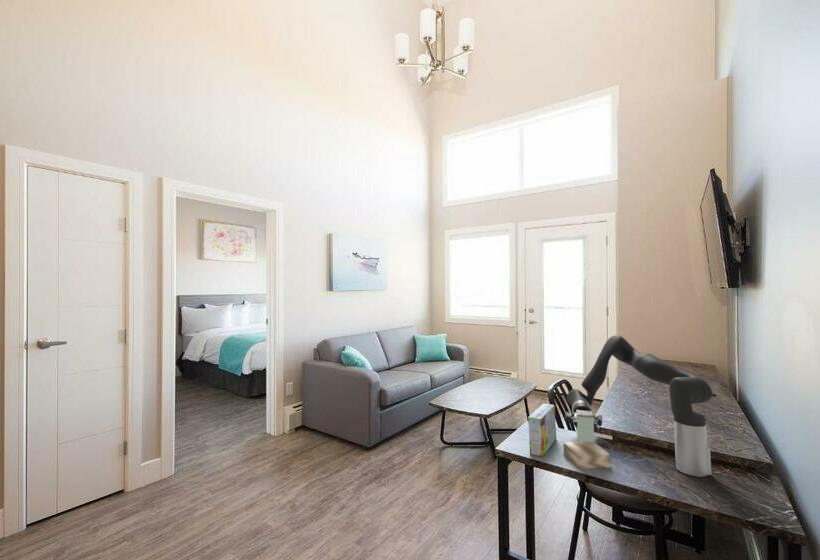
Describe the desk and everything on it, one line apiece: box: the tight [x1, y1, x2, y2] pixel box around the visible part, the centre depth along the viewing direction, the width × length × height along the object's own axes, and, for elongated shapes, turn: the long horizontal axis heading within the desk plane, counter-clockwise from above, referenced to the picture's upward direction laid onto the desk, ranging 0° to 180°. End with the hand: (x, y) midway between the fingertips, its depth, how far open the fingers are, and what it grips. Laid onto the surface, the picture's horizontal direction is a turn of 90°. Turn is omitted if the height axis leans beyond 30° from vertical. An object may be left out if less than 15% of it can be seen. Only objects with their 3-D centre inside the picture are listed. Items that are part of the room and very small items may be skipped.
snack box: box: [527, 403, 557, 458], centre depth 154 cm, size 21×6×15 cm, turn 144°
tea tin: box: [576, 410, 595, 443], centre depth 141 cm, size 6×6×10 cm
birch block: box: [562, 441, 612, 469], centre depth 141 cm, size 12×12×5 cm
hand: (585, 425), depth 139 cm, fingers closed on tea tin, 5 cm apart
